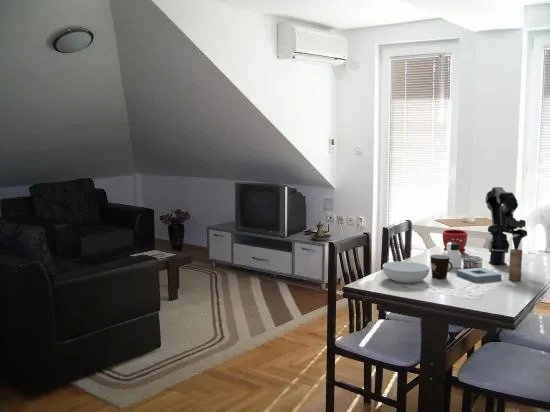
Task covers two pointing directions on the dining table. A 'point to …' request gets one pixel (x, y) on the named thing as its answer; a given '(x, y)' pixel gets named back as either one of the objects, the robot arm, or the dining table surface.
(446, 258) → the coffee mug
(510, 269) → the walnut peg
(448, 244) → the medicine bottle
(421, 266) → the serving bowl
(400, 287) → the dining table surface
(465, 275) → the slate holder block
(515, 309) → the dining table surface
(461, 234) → the plant pot
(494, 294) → the dining table surface
